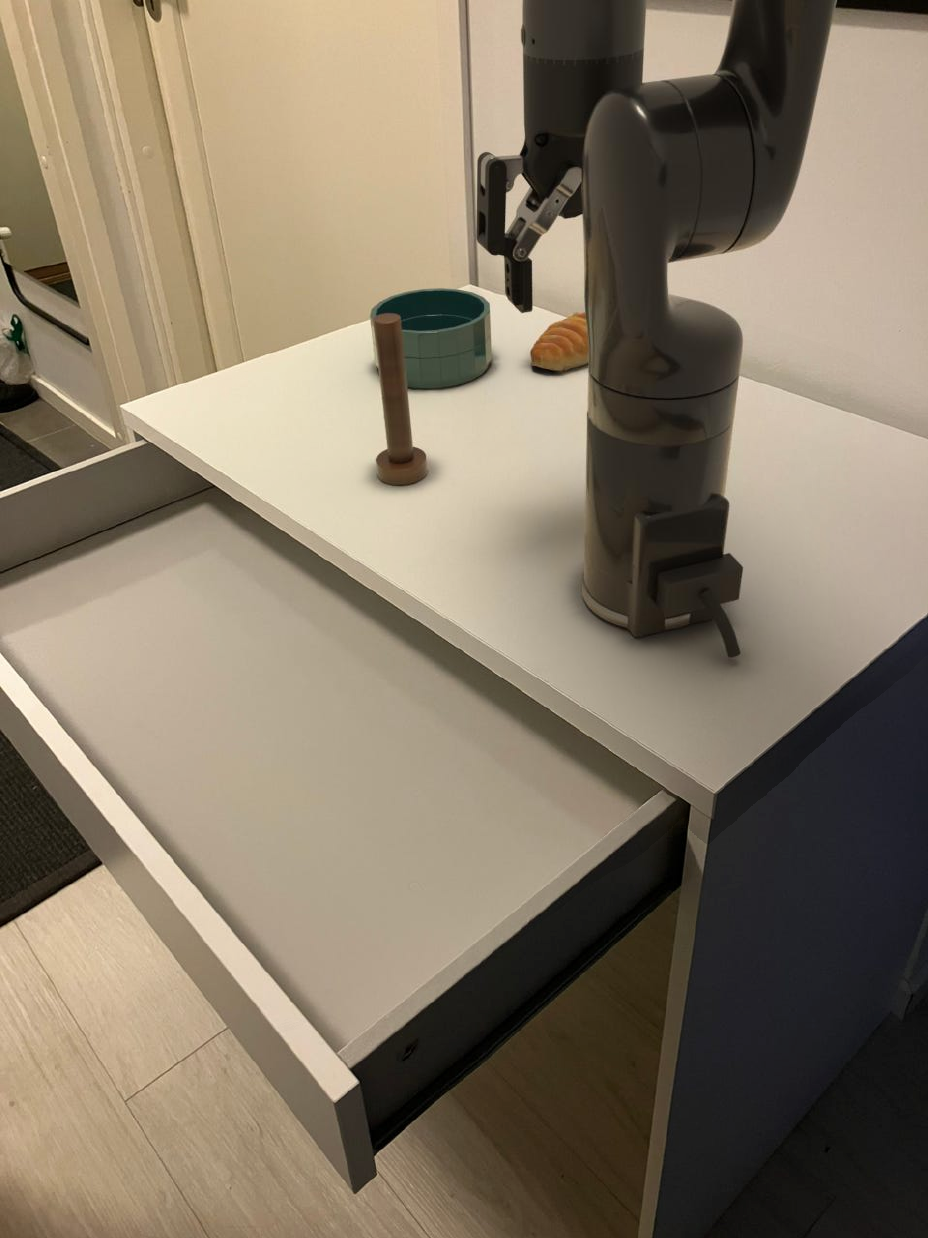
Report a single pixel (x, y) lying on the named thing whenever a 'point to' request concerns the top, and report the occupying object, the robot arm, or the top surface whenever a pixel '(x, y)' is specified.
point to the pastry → (562, 345)
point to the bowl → (440, 335)
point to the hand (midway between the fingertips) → (578, 299)
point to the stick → (395, 407)
